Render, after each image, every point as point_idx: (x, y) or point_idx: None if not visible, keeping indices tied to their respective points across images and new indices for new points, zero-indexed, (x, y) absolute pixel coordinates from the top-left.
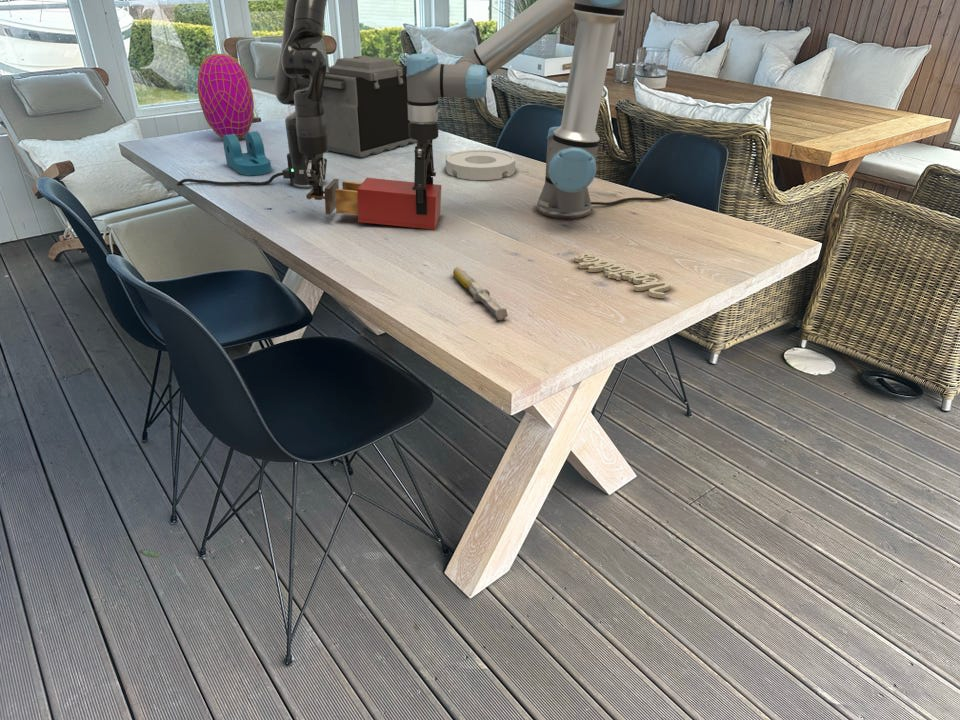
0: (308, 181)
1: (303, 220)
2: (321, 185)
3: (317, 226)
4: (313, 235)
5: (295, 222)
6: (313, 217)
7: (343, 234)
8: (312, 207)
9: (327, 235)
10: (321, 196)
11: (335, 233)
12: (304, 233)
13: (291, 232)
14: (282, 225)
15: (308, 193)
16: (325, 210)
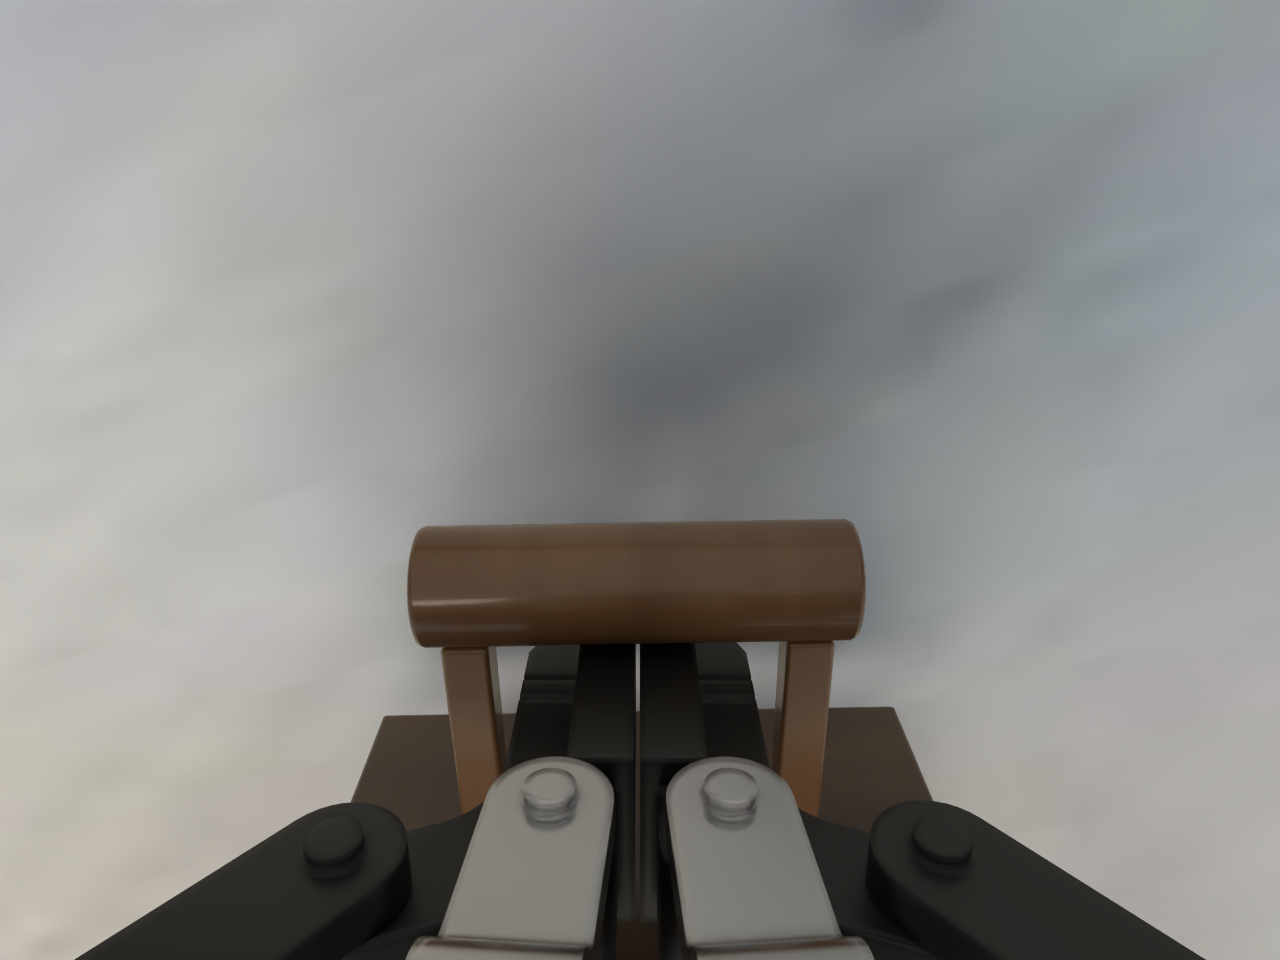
0: (122, 957)
1: (521, 294)
2: (645, 915)
3: (333, 548)
4: (17, 595)
5: (414, 204)
6: (668, 393)
7: (167, 869)
8: (1127, 236)
9: (78, 735)
10: (470, 808)
11: (168, 793)
12: (40, 472)
13: (8, 291)
14: (236, 41)
15: (444, 604)
16: (370, 755)
